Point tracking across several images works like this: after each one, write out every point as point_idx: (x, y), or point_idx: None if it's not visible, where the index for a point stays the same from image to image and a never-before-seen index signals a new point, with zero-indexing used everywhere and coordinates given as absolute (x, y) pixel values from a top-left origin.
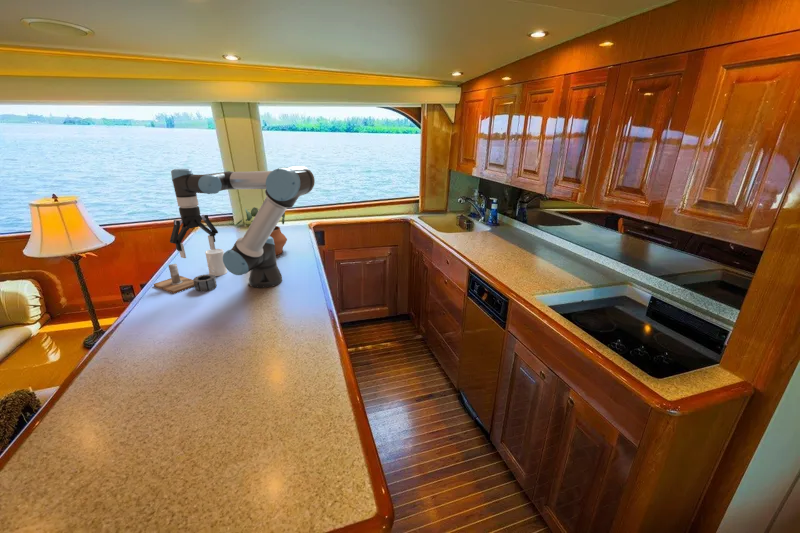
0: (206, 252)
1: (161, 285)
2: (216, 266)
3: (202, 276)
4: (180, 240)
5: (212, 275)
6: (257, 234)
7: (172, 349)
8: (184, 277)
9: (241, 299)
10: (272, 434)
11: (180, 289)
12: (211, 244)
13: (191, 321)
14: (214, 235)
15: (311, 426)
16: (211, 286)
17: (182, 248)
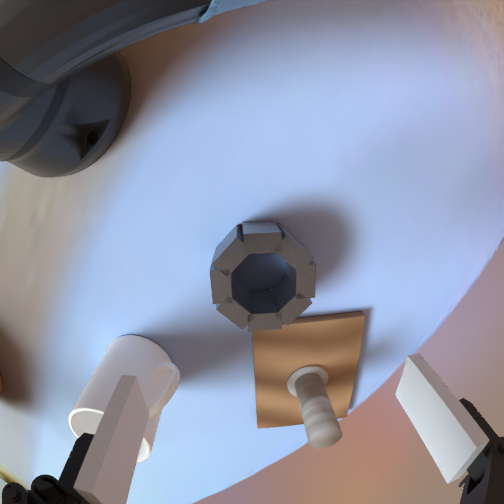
0: (142, 455)
1: (345, 393)
2: (140, 369)
3: (254, 313)
4: (502, 467)
5: (216, 281)
6: None
7: (486, 16)
8: (258, 406)
9: (248, 23)
10: None
11: (340, 317)
12: (129, 430)
13: (437, 55)
14: (52, 482)
15: None
16: (258, 224)
17: (464, 408)
